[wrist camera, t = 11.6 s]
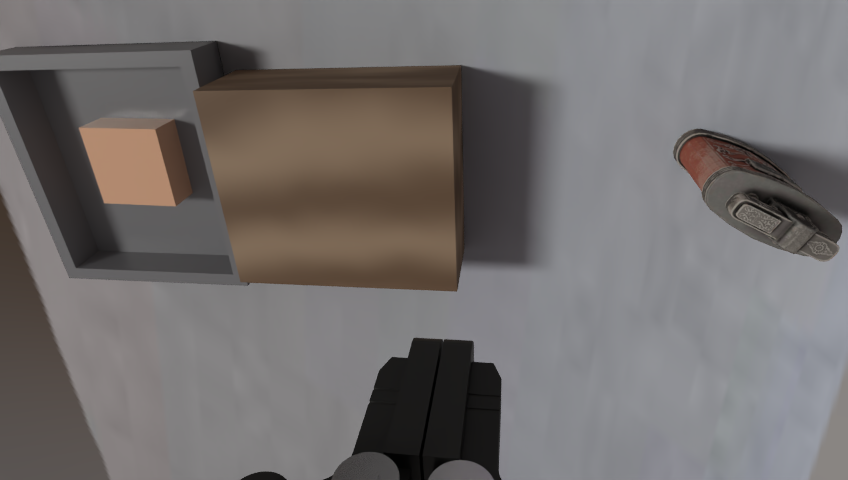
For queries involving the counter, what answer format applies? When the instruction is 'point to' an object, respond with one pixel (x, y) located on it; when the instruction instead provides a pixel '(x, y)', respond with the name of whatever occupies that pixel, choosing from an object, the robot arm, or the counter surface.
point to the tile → (137, 161)
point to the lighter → (757, 195)
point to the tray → (72, 172)
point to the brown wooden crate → (340, 174)
